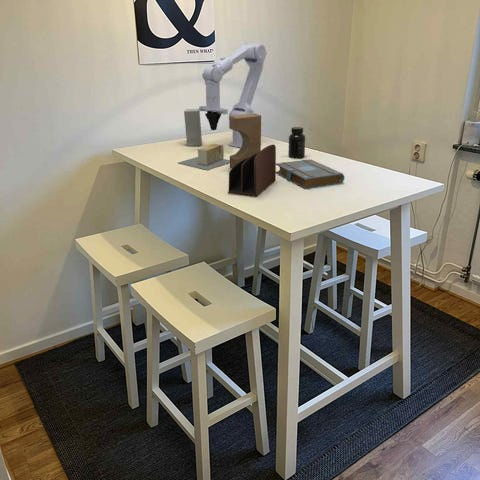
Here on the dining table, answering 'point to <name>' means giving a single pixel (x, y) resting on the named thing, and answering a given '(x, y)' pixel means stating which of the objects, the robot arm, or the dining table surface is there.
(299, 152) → the supplement bottle
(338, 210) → the dining table surface
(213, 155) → the skincare box
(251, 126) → the decorative block
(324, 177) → the book
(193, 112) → the skincare box
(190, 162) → the mat
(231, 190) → the letter holder
